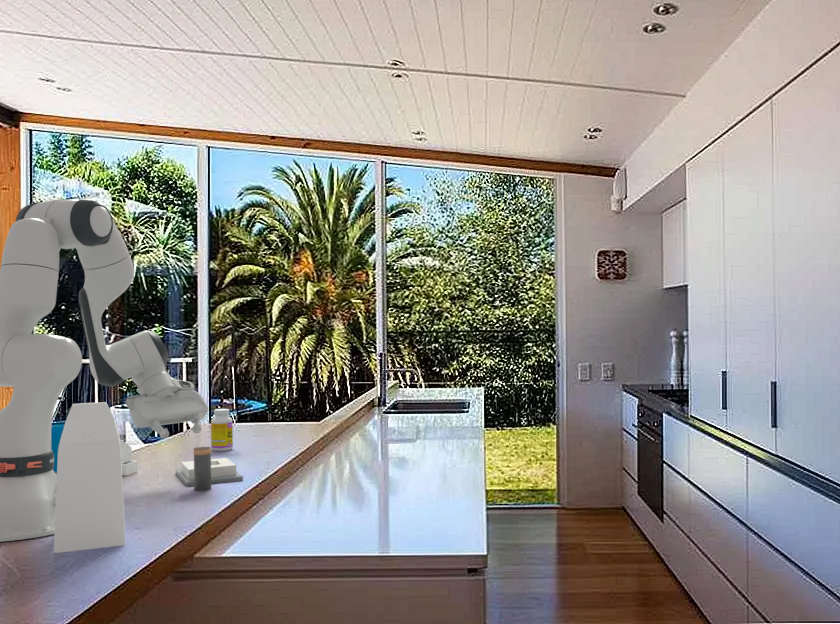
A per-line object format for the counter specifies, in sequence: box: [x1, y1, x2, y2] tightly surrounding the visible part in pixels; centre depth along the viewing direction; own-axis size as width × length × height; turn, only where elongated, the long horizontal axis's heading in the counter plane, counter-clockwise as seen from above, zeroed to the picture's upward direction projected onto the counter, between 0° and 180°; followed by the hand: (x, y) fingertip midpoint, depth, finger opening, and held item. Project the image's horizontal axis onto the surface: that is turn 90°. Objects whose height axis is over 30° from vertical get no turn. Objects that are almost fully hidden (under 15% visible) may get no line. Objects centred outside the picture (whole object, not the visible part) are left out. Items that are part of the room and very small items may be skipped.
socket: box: [175, 457, 244, 487], centre depth 204 cm, size 18×14×4 cm
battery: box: [193, 446, 212, 492], centre depth 189 cm, size 4×4×10 cm
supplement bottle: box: [210, 408, 234, 452], centre depth 246 cm, size 7×7×13 cm
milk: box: [53, 401, 126, 554], centre depth 146 cm, size 12×12×26 cm
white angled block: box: [120, 438, 139, 476], centre depth 209 cm, size 4×10×9 cm, turn 168°
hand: (182, 433), depth 195 cm, fingers open, 8 cm apart
